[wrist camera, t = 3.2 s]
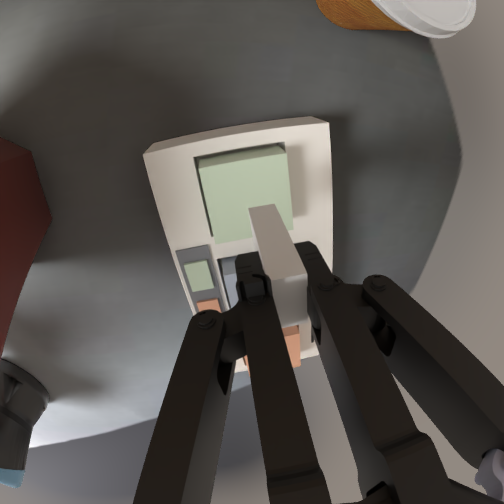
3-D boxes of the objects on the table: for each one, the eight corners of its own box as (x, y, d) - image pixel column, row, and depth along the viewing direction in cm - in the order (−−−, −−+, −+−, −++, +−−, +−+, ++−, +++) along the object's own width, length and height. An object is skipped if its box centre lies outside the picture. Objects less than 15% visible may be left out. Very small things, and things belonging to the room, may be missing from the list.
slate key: (233, 307, 29) (235, 325, 27) (221, 258, 26) (223, 275, 24) (292, 296, 29) (298, 313, 27) (288, 245, 26) (295, 261, 24)
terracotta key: (247, 360, 34) (249, 376, 32) (238, 327, 31) (241, 345, 29) (295, 350, 34) (300, 365, 32) (293, 316, 31) (299, 333, 29)
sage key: (214, 229, 24) (215, 244, 22) (199, 159, 21) (198, 168, 19) (285, 215, 25) (293, 229, 22) (278, 145, 21) (286, 153, 19)
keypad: (215, 349, 38) (217, 378, 34) (152, 143, 23) (141, 156, 19) (317, 328, 39) (328, 355, 35) (311, 116, 24) (331, 123, 20)
